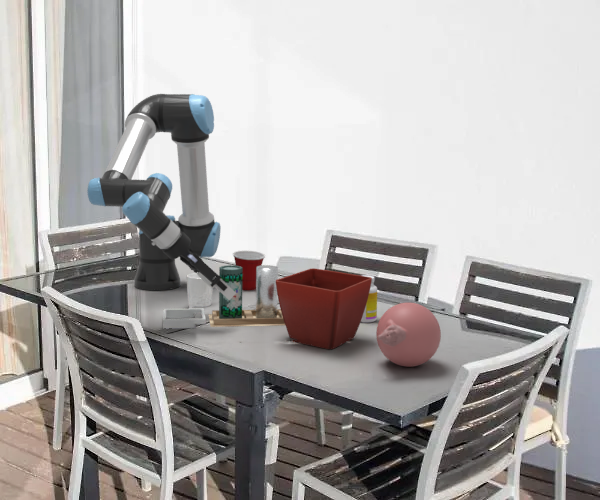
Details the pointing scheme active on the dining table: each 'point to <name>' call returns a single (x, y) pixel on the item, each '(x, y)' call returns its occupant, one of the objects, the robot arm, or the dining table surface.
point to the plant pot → (322, 306)
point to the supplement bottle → (370, 304)
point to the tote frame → (182, 314)
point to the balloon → (408, 334)
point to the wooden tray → (245, 320)
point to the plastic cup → (248, 267)
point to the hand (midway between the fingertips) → (223, 291)
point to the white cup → (198, 292)
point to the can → (234, 281)
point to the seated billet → (266, 291)
